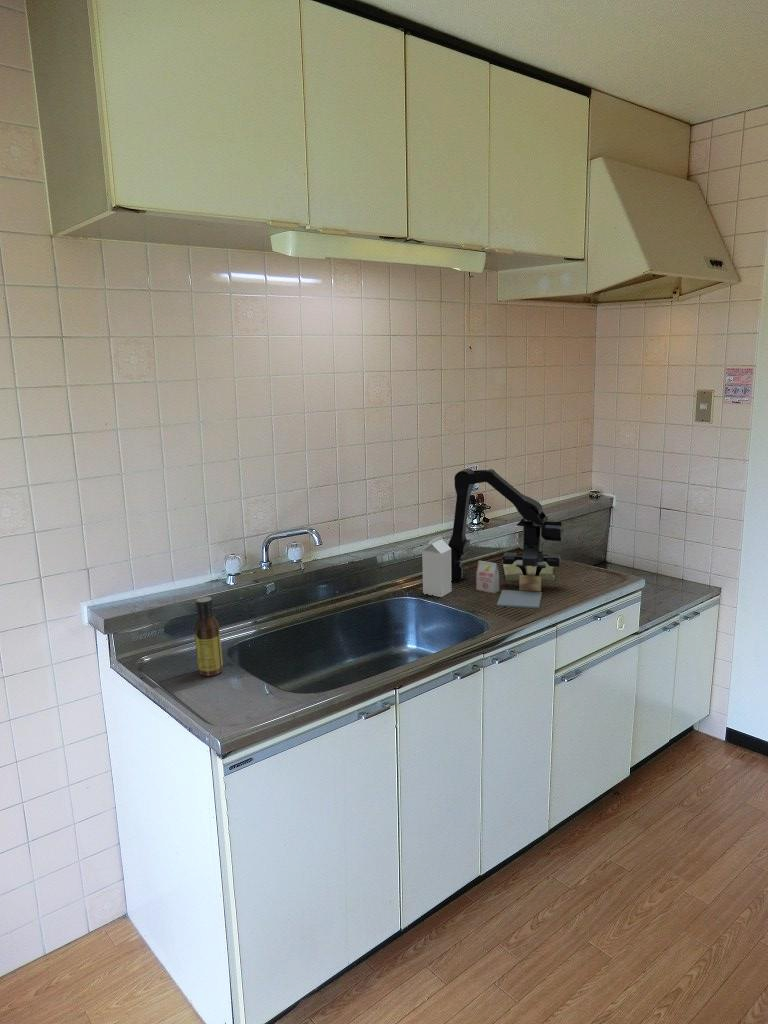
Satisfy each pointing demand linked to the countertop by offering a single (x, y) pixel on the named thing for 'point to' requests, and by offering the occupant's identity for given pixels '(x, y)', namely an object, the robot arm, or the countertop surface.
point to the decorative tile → (515, 572)
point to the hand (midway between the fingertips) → (531, 583)
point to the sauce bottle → (207, 639)
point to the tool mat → (520, 599)
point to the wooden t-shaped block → (530, 582)
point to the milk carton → (437, 568)
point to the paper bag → (487, 577)
